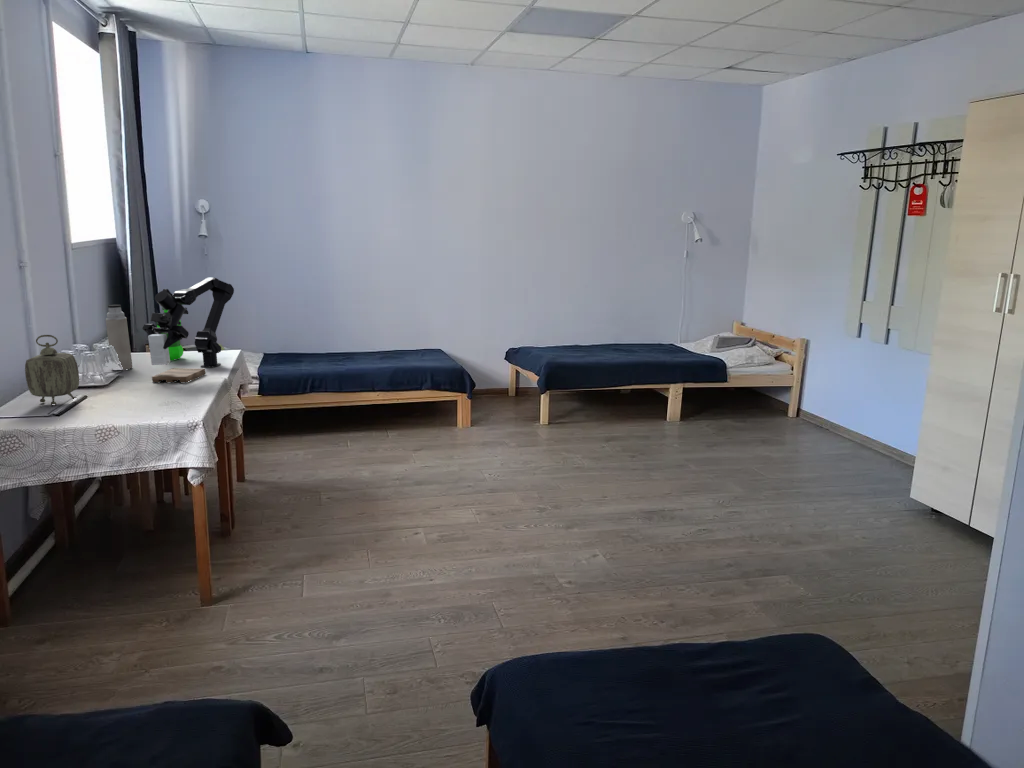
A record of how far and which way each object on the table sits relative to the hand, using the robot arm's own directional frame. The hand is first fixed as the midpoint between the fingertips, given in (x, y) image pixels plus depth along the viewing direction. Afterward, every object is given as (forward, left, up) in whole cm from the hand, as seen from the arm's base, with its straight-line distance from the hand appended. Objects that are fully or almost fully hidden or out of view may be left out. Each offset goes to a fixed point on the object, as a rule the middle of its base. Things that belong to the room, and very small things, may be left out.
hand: (156, 348), depth 298 cm
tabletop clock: (+39, -17, -13) cm, 45 cm away
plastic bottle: (-43, -18, -13) cm, 48 cm away
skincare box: (-1, 0, -7) cm, 7 cm away
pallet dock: (-4, +6, -13) cm, 15 cm away
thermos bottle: (-21, -29, -13) cm, 38 cm away
